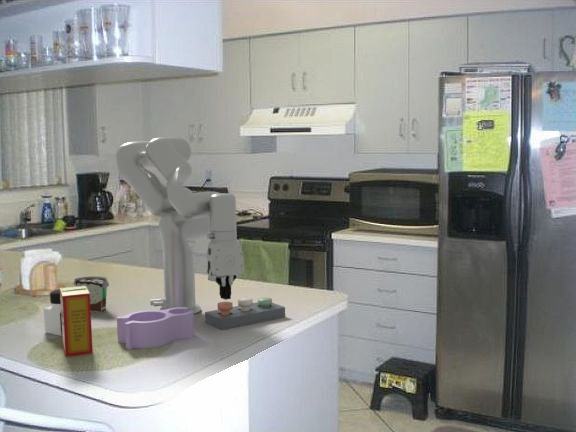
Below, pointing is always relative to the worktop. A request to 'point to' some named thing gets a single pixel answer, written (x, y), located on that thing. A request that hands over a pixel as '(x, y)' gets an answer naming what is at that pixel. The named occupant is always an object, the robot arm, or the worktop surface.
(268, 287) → the worktop surface
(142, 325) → the clip
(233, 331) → the worktop surface
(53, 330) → the medicine bottle
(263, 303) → the sage button
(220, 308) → the terracotta button
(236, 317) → the button panel
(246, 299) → the ivory button
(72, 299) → the baking soda box
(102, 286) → the food container
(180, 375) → the worktop surface
